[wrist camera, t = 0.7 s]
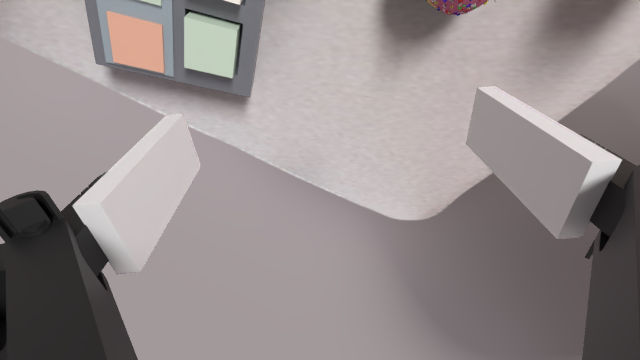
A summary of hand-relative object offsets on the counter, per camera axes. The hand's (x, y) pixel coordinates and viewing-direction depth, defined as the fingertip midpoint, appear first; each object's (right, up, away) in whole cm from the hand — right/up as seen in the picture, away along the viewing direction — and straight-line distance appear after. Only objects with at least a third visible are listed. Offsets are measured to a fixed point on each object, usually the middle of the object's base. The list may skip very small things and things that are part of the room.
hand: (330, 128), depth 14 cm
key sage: (-11, +11, +16) cm, 22 cm away
